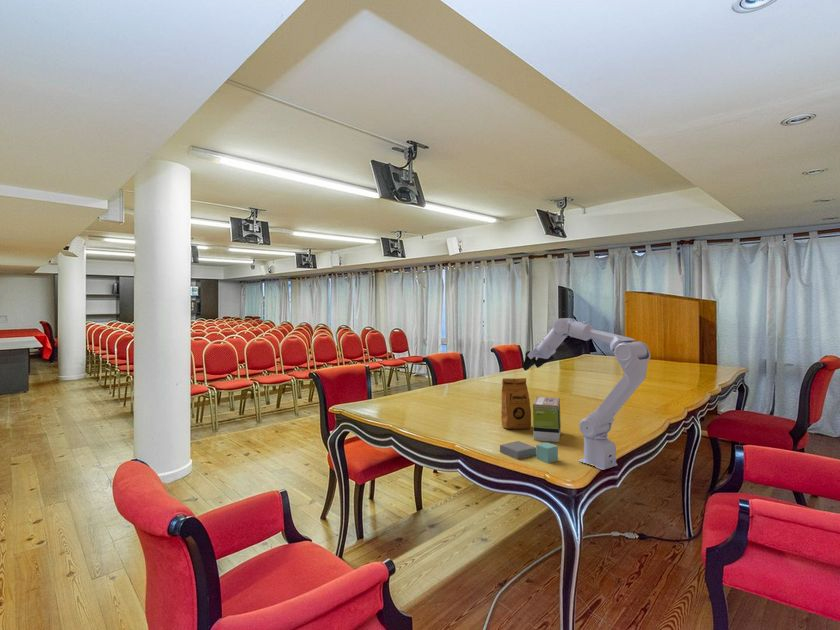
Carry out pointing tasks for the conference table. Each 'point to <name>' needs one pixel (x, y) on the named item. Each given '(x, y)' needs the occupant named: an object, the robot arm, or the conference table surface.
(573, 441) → the conference table surface
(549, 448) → the teal cube
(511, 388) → the coffee package
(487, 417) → the conference table surface
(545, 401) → the tea box
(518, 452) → the slate plinth
